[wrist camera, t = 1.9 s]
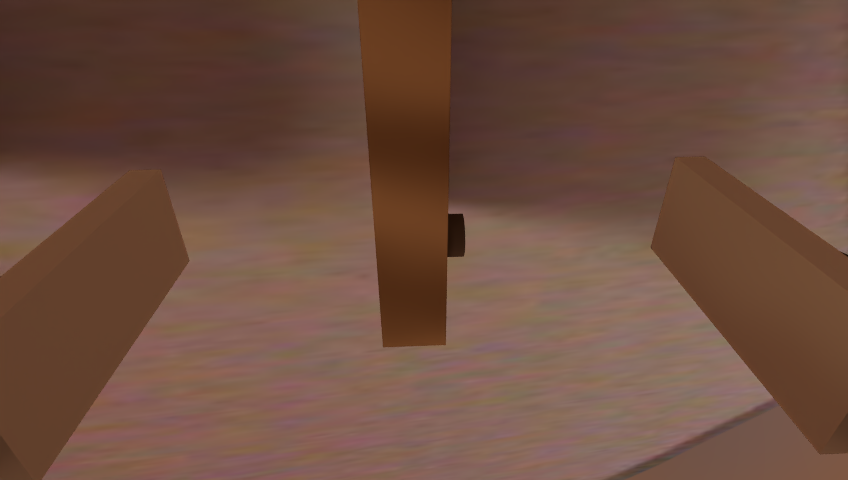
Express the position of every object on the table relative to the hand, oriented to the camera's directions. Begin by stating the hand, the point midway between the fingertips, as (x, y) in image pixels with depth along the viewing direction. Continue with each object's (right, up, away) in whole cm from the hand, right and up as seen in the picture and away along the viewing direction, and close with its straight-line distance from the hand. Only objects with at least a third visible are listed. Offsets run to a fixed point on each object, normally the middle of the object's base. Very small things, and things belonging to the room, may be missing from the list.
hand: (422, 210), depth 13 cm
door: (-1, +11, +18) cm, 22 cm away
